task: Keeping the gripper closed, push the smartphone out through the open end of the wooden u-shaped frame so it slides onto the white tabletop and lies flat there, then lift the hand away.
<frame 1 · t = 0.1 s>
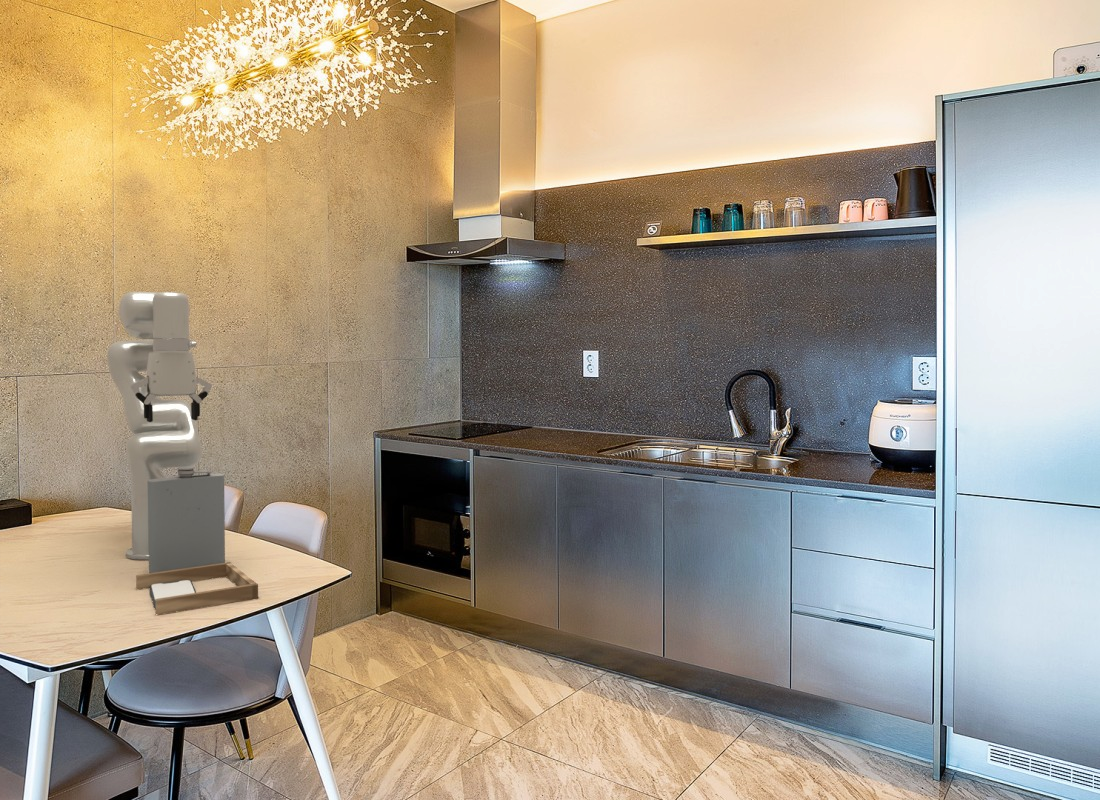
hand: (172, 420, 190), 37 cm above the table, tool pointing down, fingers open, 9 cm apart
upright grey panel: (187, 569, 199), on the table
smartphone: (174, 599, 178), on the table
wooden u-shaped frame: (191, 594, 180), on the table
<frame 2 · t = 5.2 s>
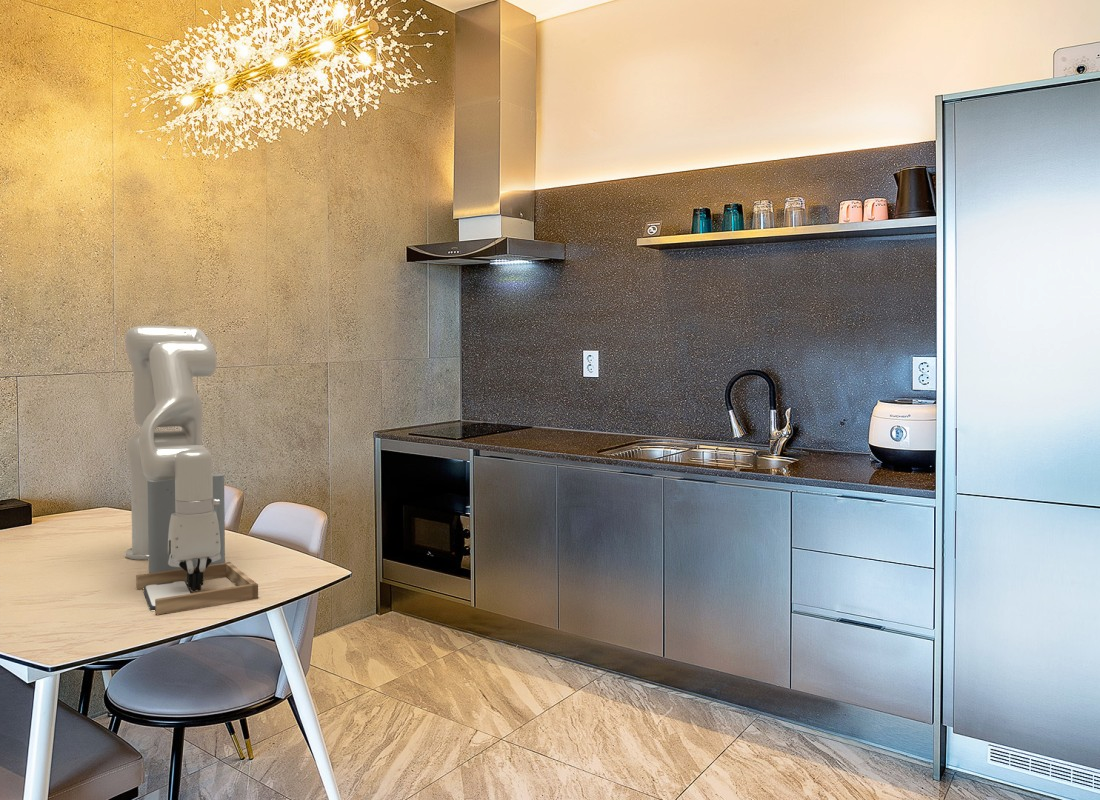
hand: (195, 589, 180), 1 cm above the table, tool pointing down, fingers closed
smartphone: (169, 600, 177), on the table
everything else where it was.
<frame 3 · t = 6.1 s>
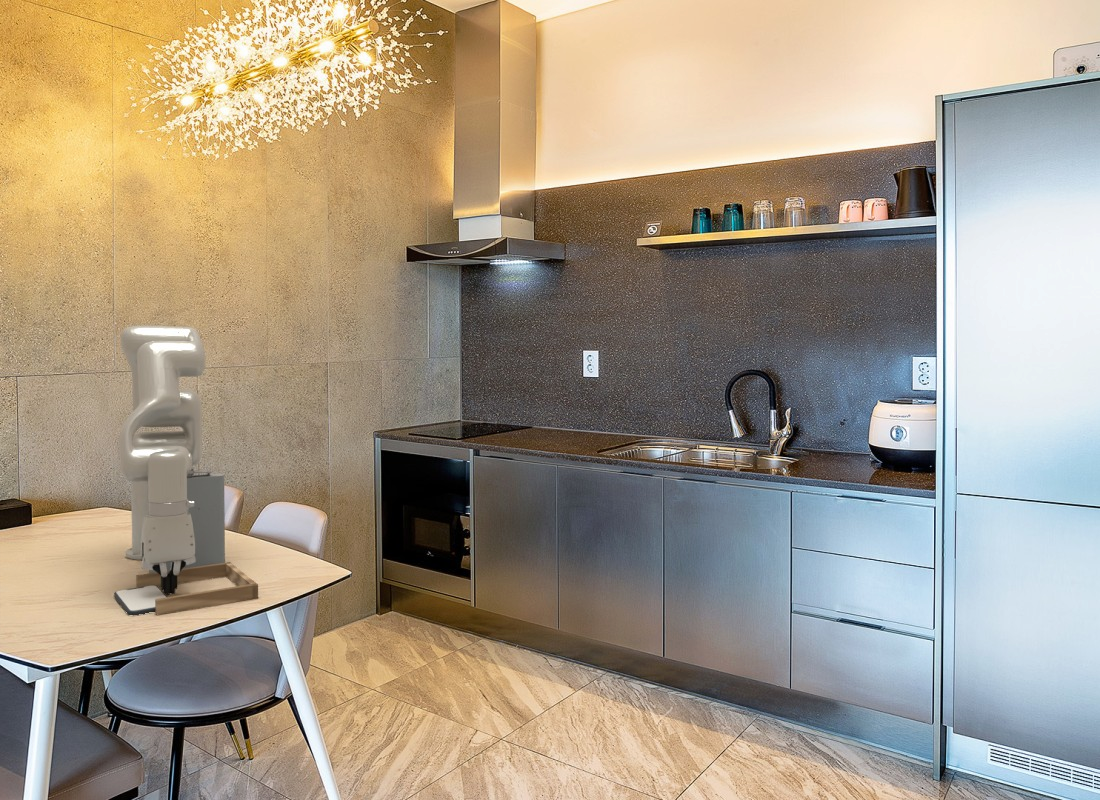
hand: (169, 592, 177), 1 cm above the table, tool pointing down, fingers closed
smartphone: (143, 605, 174), on the table, touching gripper
everything else where it was.
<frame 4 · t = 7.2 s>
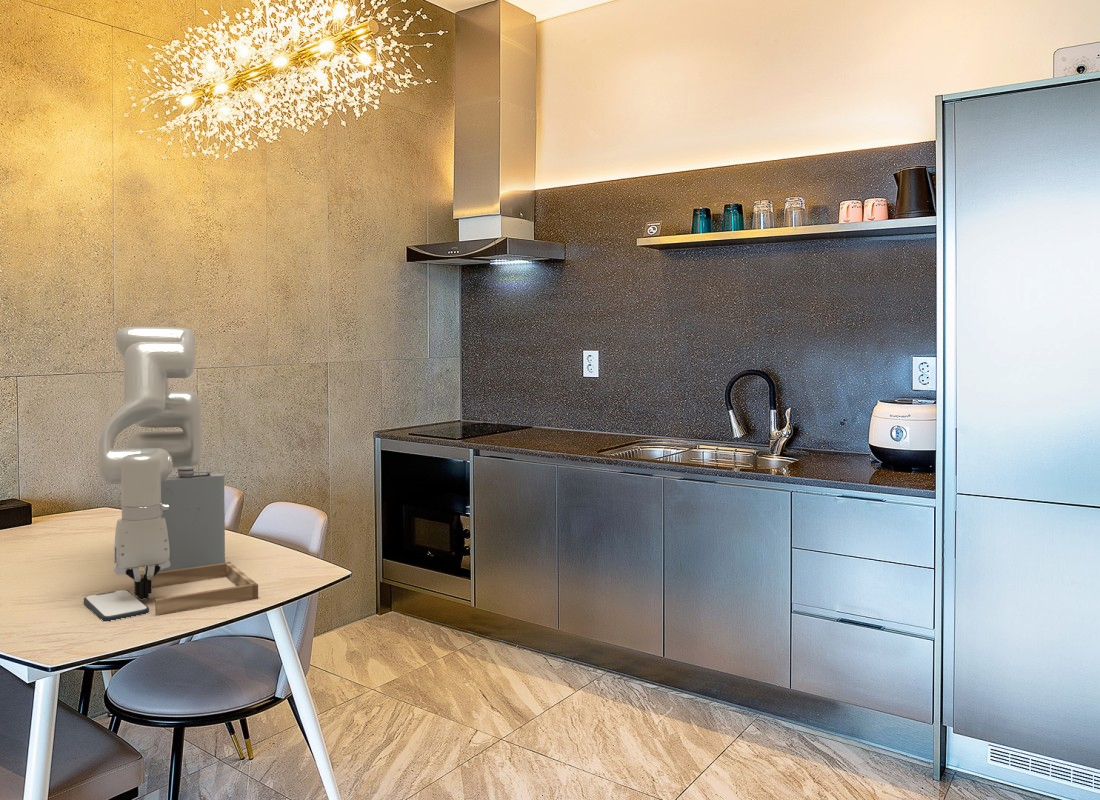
hand: (143, 597, 174), 1 cm above the table, tool pointing down, fingers closed
smartphone: (116, 610, 170), on the table
everything else where it was.
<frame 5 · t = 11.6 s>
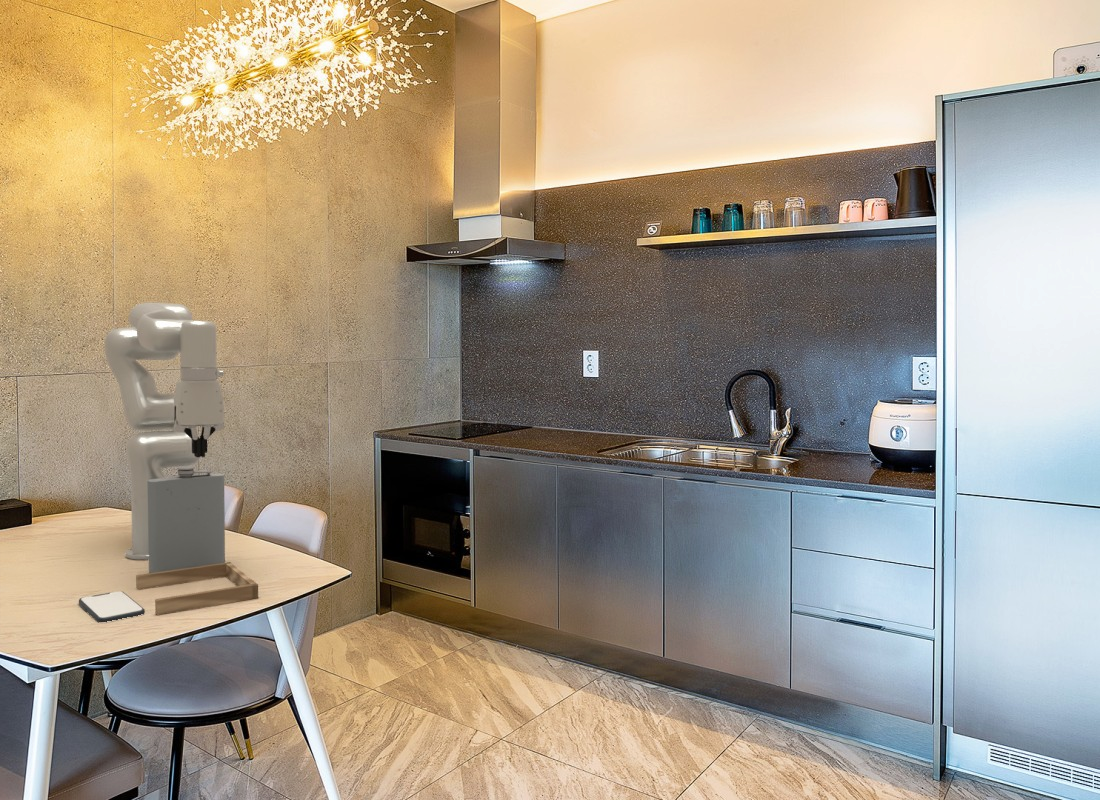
hand: (199, 456, 187), 29 cm above the table, tool pointing down, fingers closed
nothing on the table moved.
at the end: smartphone inside the target area (5.7 cm from its centre), on the table; smartphone tilted 0° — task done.
